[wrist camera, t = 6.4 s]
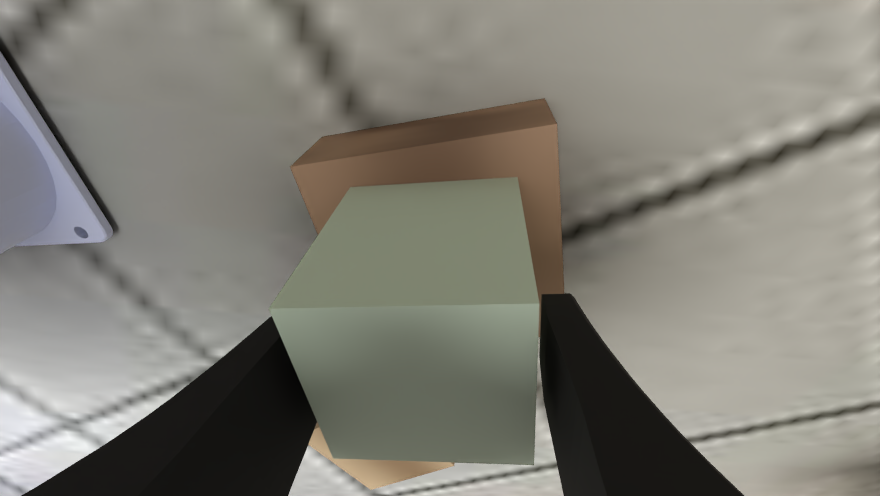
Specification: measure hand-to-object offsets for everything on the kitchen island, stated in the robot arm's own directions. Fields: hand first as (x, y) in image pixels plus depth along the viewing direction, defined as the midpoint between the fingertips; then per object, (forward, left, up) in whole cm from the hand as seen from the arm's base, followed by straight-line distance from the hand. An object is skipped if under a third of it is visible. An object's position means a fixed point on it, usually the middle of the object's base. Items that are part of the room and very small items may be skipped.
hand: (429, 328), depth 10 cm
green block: (0, 0, -3) cm, 3 cm away
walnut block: (0, 0, -6) cm, 6 cm away
